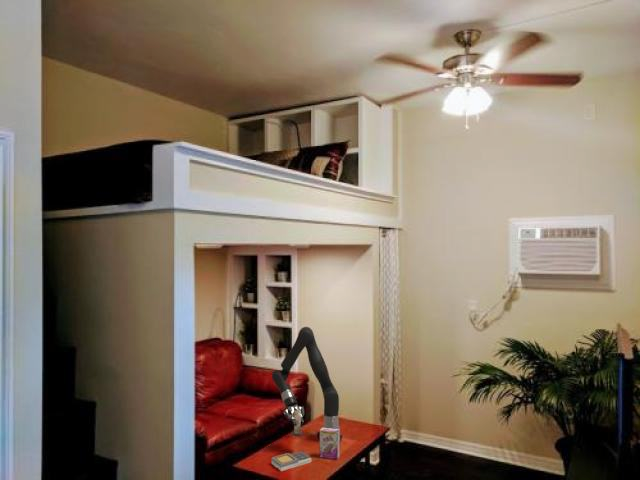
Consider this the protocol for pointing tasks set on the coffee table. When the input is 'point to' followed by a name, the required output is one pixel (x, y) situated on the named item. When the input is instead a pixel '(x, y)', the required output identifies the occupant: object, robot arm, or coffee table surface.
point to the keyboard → (297, 460)
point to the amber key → (284, 459)
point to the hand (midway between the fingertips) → (299, 424)
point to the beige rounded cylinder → (298, 420)
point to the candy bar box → (329, 443)
